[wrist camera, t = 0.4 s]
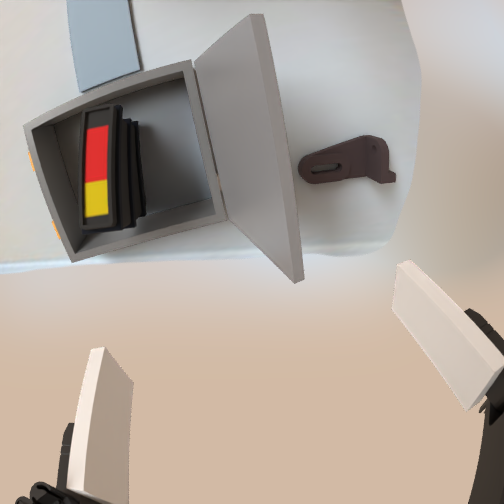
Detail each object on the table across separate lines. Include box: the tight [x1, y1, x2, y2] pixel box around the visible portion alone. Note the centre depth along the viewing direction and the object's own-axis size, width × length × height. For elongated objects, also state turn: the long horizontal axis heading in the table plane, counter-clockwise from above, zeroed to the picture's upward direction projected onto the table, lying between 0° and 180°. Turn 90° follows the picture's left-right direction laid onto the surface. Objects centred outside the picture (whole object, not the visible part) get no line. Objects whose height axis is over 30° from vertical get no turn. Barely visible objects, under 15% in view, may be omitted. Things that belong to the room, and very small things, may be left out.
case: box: [23, 60, 227, 263], centre depth 26 cm, size 18×25×16 cm
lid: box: [194, 14, 304, 284], centre depth 21 cm, size 17×14×1 cm
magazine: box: [78, 103, 146, 235], centre depth 28 cm, size 4×13×15 cm, turn 0°
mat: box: [66, 0, 141, 92], centre depth 23 cm, size 15×8×1 cm, turn 10°
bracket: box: [298, 135, 396, 184], centre depth 35 cm, size 6×12×5 cm, turn 97°
